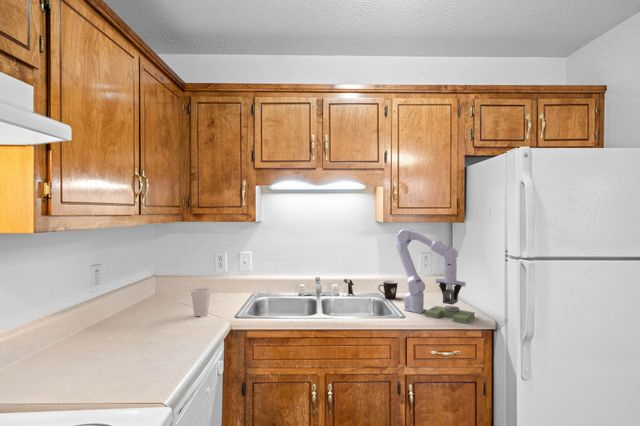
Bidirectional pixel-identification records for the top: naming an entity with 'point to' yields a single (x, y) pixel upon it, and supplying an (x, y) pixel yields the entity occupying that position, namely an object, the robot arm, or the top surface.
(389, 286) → the coffee mug
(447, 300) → the chute
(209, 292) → the foam cup
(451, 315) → the notched green slab
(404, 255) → the robot arm
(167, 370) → the top surface
